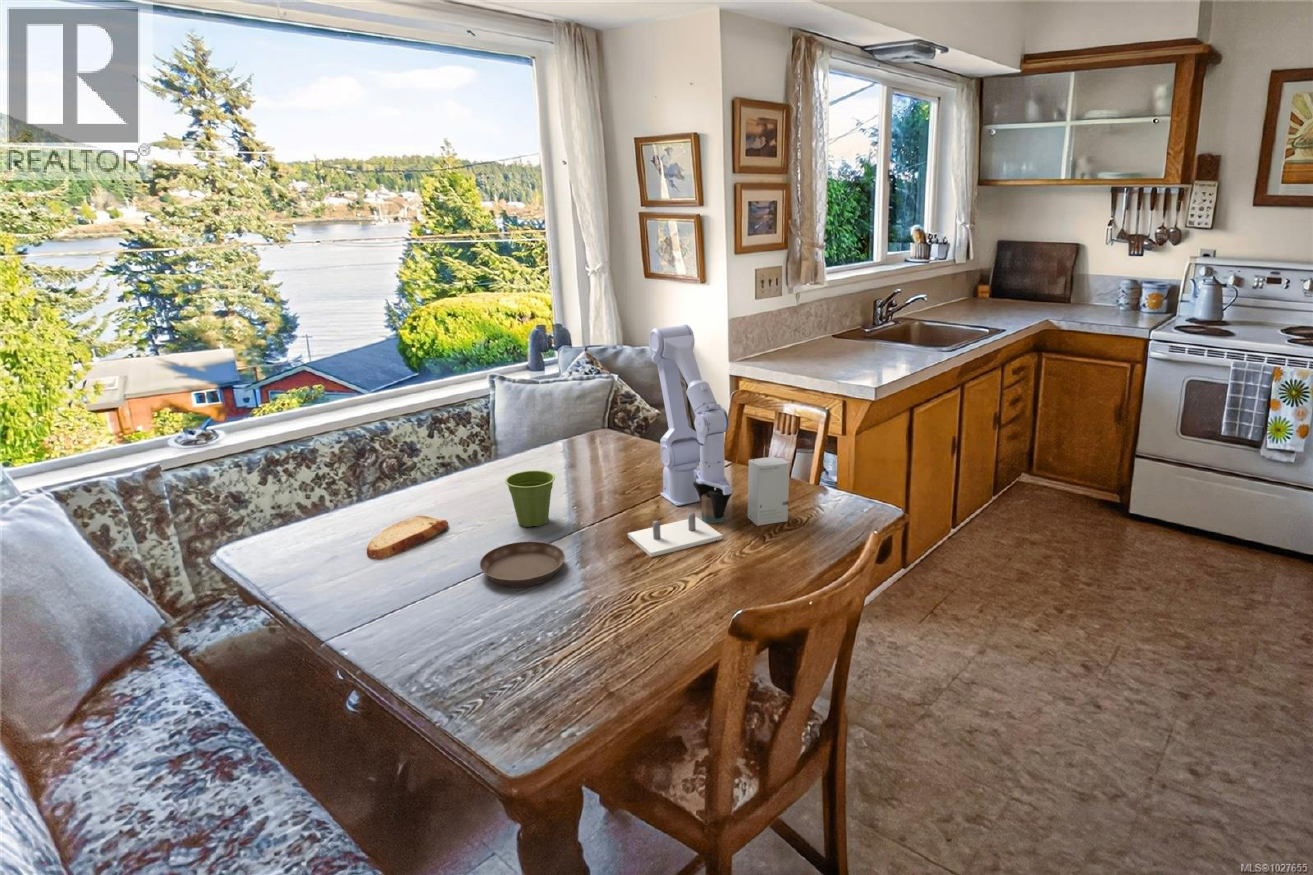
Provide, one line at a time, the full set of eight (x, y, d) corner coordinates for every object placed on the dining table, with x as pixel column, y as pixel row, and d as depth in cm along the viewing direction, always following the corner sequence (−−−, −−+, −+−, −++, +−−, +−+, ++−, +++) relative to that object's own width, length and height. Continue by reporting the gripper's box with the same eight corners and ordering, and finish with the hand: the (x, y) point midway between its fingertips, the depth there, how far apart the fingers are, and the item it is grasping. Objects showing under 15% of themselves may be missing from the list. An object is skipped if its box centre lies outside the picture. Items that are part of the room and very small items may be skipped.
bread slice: (365, 563, 171) (362, 547, 170) (372, 531, 188) (370, 516, 187) (449, 551, 175) (447, 536, 174) (448, 521, 192) (447, 507, 191)
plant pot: (549, 533, 182) (545, 488, 179) (501, 530, 185) (497, 486, 181) (564, 513, 193) (561, 470, 190) (519, 511, 196) (515, 469, 192)
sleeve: (698, 517, 188) (698, 494, 186) (716, 513, 190) (716, 490, 188) (709, 524, 183) (708, 501, 182) (727, 520, 186) (727, 496, 184)
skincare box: (757, 526, 181) (757, 466, 177) (746, 517, 187) (746, 458, 182) (789, 521, 184) (790, 462, 179) (778, 512, 189) (779, 454, 185)
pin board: (627, 537, 178) (626, 516, 177) (696, 520, 186) (696, 501, 184) (650, 557, 168) (650, 535, 167) (722, 539, 176) (722, 518, 174)
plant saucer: (583, 568, 165) (582, 555, 164) (516, 601, 152) (515, 587, 151) (529, 546, 176) (528, 534, 175) (463, 575, 164) (462, 562, 163)
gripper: (682, 454, 187) (683, 506, 191) (713, 471, 174) (713, 527, 178) (707, 449, 190) (708, 501, 194) (739, 466, 177) (740, 521, 181)
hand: (713, 513), depth 186 cm, fingers closed on sleeve, 5 cm apart
